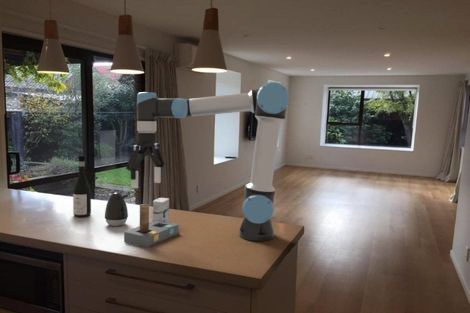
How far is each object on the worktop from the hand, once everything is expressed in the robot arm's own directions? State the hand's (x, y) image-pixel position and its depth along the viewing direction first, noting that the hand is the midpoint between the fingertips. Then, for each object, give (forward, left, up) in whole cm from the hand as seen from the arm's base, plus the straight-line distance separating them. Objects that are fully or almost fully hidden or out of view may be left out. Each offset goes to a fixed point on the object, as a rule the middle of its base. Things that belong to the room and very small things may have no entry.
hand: (146, 185), depth 148 cm
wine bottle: (+50, -11, -23) cm, 56 cm away
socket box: (0, -4, -23) cm, 23 cm away
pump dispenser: (+25, -9, -23) cm, 35 cm away
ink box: (+9, -21, -23) cm, 33 cm away
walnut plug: (0, +1, -22) cm, 22 cm away
